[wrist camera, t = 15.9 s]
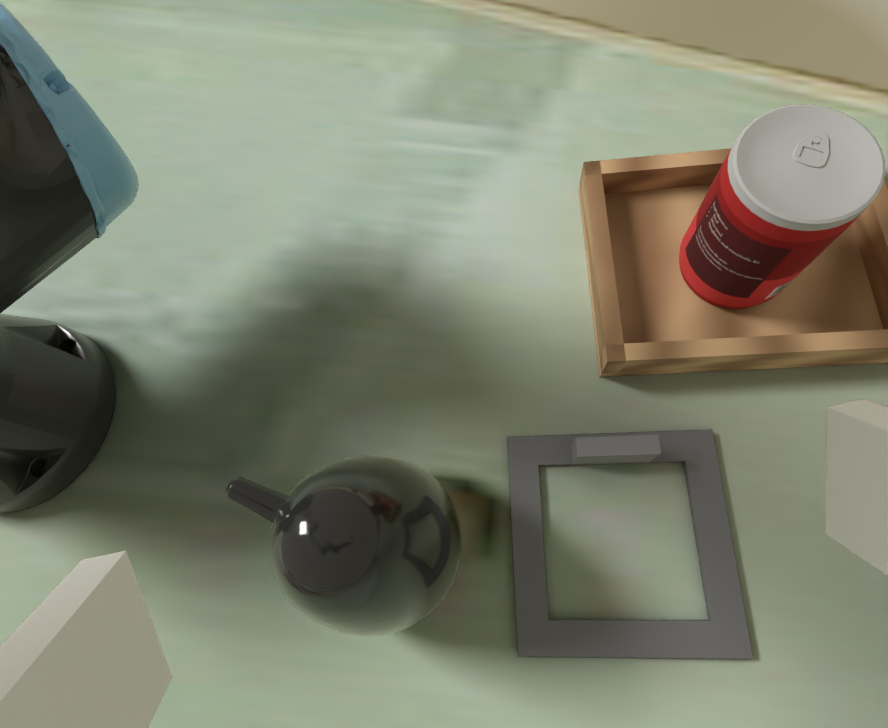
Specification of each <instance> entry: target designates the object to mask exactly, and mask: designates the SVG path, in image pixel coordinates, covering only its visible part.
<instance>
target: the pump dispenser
mask: <svg viewBox="0 0 888 728" xmlns="http://www.w3.org/2000/svg"><path fill="white" fill-rule="evenodd" d="M225 494H226V497H227V498H228V499H230V500H232V501H233V502H235V503H237V504H238V505H240V506H242V507H244V508H245V509H247V510H249V511H250V512H252V513H254V514H256V515H257V516H259V517H261V518H262V519H264V520H266V521H267V522H269V523H271V524H272V528H271V531H270V535H269V547H268V550H269V561H270V566H271V569H272V573H273V575H274V578H275V580H276V582H277V584H278V586H279V588H280V590H281V591H282V593H283V594H284V596H285V597H286V598H287V599H288V601H289V602H290V603H291V604H292V605H293V606H294V607H295V608H296V609H298V610H299V611H300V612H301V613H303V614H304V615H305V616H307V617H308V618H310V619H312V620H313V621H315V622H317V623H318V624H320V625H322V626H324V627H327V628H329V629H332V630H334V631H337V632H341V633H345V634H350V635H358V636H380V635H387V634H391V633H395V632H398V631H401V630H404V629H406V628H408V627H410V626H412V625H414V624H416V623H417V622H419V621H421V620H422V619H423V618H425V617H426V616H427V615H428V614H430V613H431V612H432V611H433V610H434V609H435V608H436V607H437V606H438V605H439V603H440V602H441V601H442V600H443V598H444V597H445V596H446V594H447V592H448V591H449V589H450V587H451V585H452V583H453V581H454V579H455V576H456V574H457V571H458V567H459V563H460V558H461V551H462V533H461V526H460V521H459V517H458V514H457V511H456V508H455V506H454V504H453V502H452V500H451V498H450V496H449V495H448V493H447V492H446V490H445V489H444V488H443V486H442V485H441V484H440V483H439V482H438V481H437V480H436V479H435V478H434V477H433V476H432V475H431V474H430V473H428V472H427V471H425V470H424V469H422V468H421V467H419V466H417V465H415V464H413V463H411V462H409V461H406V460H403V459H400V458H396V457H390V456H381V455H361V456H353V457H348V458H344V459H340V460H337V461H334V462H331V463H329V464H327V465H324V466H322V467H320V468H318V469H317V470H315V471H313V472H312V473H310V474H309V475H307V476H306V477H305V478H303V479H302V480H301V481H300V482H299V483H298V484H297V485H296V486H295V487H294V488H293V489H292V490H291V491H290V492H289V494H288V495H284V494H282V493H279V492H277V491H274V490H272V489H269V488H267V487H264V486H262V485H259V484H257V483H254V482H252V481H249V480H247V479H244V478H242V477H236V478H234V479H233V480H232V481H231V482H230V483H229V485H228V486H227V488H226V492H225Z"/></svg>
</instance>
